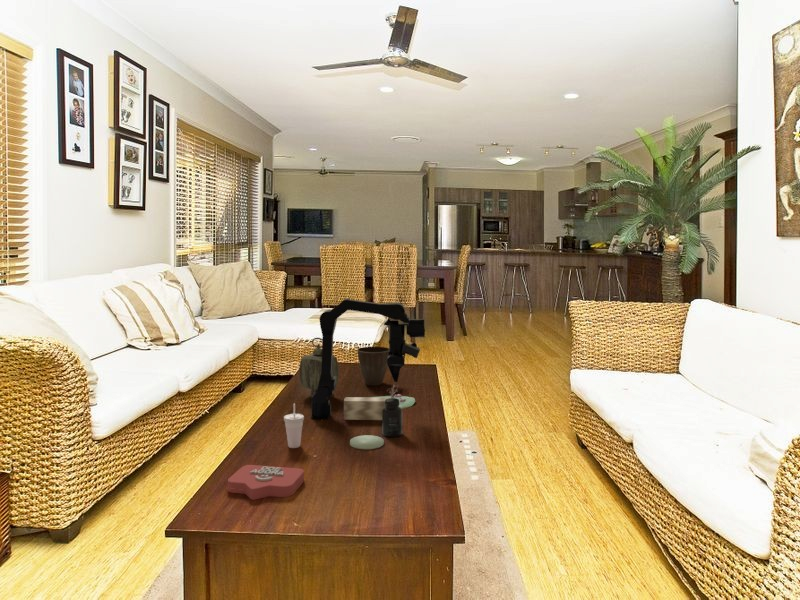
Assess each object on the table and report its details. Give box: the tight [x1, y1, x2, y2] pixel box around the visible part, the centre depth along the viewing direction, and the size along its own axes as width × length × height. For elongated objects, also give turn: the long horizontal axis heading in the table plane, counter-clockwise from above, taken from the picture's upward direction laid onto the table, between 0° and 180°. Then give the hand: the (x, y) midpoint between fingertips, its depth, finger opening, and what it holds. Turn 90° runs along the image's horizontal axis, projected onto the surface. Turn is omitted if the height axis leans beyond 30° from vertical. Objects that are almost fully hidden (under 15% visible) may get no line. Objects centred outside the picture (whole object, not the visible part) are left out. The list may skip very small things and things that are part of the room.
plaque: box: [227, 464, 305, 501], centre depth 153 cm, size 18×4×15 cm
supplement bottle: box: [381, 398, 403, 438], centre depth 195 cm, size 7×7×12 cm
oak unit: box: [343, 396, 388, 421], centre depth 213 cm, size 16×5×7 cm, turn 90°
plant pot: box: [356, 346, 389, 387], centre depth 263 cm, size 15×15×16 cm
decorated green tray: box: [370, 383, 416, 410], centre depth 234 cm, size 25×21×9 cm
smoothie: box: [283, 403, 305, 449], centre depth 183 cm, size 6×6×14 cm
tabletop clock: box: [299, 337, 339, 398], centre depth 240 cm, size 14×9×25 cm, turn 58°
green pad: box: [349, 434, 385, 450], centre depth 187 cm, size 11×11×1 cm
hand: (396, 378), depth 213 cm, fingers open, 9 cm apart
